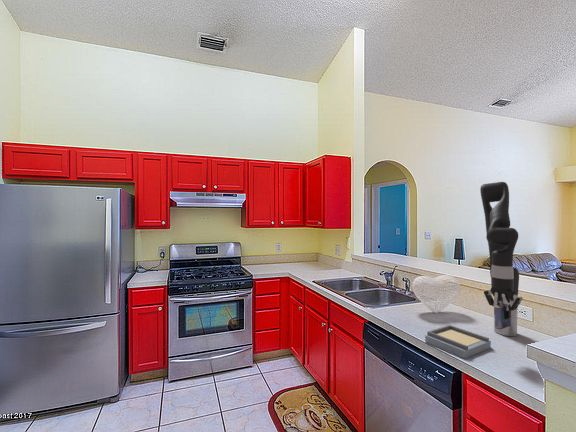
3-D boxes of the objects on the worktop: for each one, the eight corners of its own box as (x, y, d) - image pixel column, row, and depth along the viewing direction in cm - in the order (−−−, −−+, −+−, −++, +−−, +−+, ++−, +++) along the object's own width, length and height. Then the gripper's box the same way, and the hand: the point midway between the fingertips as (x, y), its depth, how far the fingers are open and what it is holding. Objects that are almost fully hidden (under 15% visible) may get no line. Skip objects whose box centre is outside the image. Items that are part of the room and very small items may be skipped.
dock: (451, 333, 147) (451, 324, 147) (490, 347, 131) (490, 337, 131) (425, 341, 137) (425, 332, 137) (464, 358, 121) (464, 347, 121)
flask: (500, 330, 118) (499, 303, 118) (492, 327, 121) (491, 301, 121) (512, 325, 123) (512, 299, 123) (504, 323, 125) (504, 298, 125)
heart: (421, 318, 168) (422, 279, 168) (407, 309, 183) (407, 273, 183) (466, 315, 172) (466, 277, 172) (448, 307, 187) (448, 272, 187)
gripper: (526, 278, 117) (527, 321, 118) (488, 272, 130) (488, 311, 130) (517, 280, 114) (518, 325, 114) (479, 274, 126) (479, 314, 126)
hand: (502, 317), depth 122 cm, fingers closed on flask, 3 cm apart
